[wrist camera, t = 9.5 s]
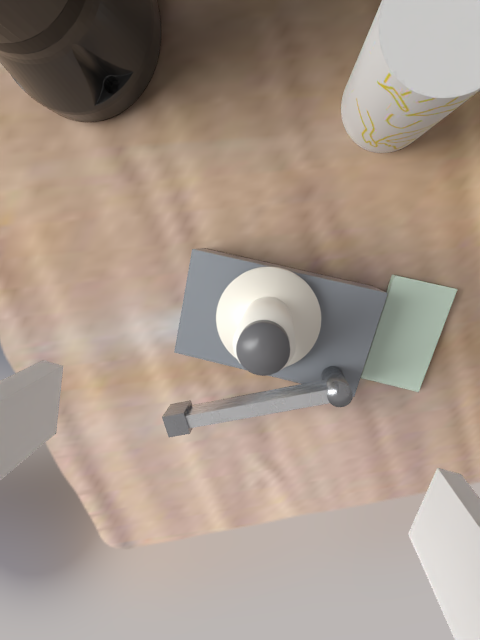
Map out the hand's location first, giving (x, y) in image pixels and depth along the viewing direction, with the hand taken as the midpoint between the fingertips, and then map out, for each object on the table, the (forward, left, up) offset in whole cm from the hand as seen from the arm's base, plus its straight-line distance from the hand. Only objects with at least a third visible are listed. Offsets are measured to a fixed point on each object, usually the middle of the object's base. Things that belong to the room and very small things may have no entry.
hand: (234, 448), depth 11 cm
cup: (-21, +6, -25) cm, 33 cm away
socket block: (0, +1, -25) cm, 25 cm away
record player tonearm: (+7, +1, -19) cm, 21 cm away
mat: (-1, +14, -25) cm, 29 cm away
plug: (0, 0, -24) cm, 24 cm away
